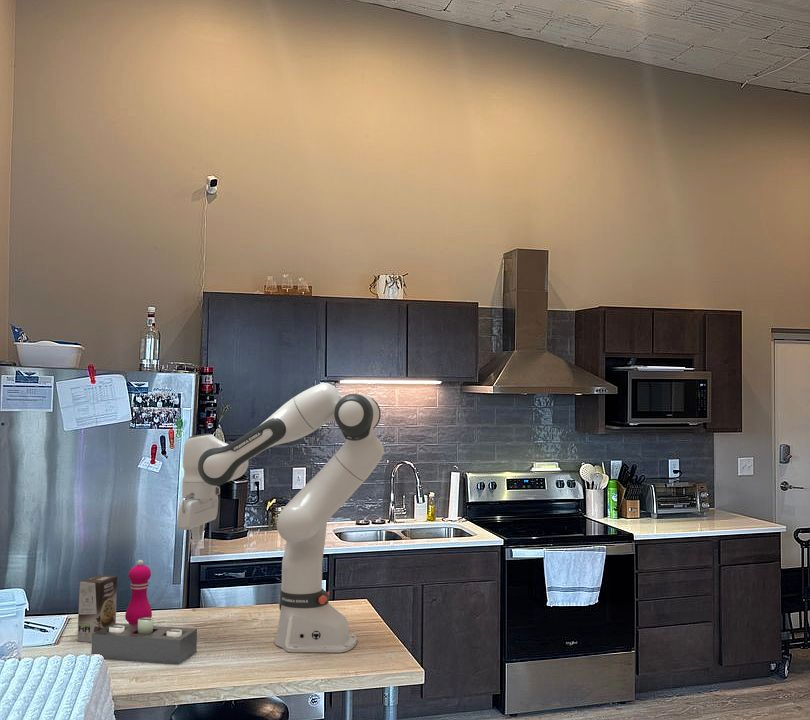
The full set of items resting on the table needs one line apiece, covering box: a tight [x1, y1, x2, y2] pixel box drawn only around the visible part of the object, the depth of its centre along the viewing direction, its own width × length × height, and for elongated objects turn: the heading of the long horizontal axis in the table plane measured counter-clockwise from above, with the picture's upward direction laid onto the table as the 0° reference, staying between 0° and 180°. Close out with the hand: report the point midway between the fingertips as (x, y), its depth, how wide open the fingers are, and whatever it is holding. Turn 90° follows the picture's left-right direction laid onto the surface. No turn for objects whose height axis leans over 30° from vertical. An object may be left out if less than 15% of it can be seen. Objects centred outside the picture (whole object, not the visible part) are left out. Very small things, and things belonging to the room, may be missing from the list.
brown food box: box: [76, 574, 118, 643], centre depth 220 cm, size 9×6×16 cm
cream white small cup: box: [167, 629, 182, 637], centre depth 204 cm, size 4×4×5 cm
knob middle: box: [138, 617, 154, 635], centre depth 206 cm, size 4×4×5 cm
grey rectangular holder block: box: [91, 622, 198, 665], centre depth 205 cm, size 24×10×6 cm, turn 80°
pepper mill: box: [124, 559, 153, 625], centre depth 226 cm, size 7×7×20 cm
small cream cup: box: [109, 625, 125, 633], centre depth 207 cm, size 4×4×5 cm
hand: (197, 540), depth 223 cm, fingers closed
